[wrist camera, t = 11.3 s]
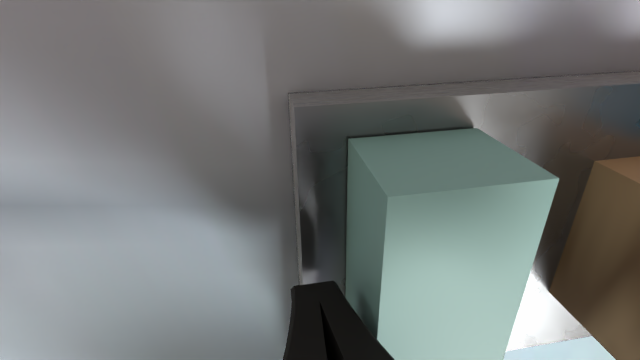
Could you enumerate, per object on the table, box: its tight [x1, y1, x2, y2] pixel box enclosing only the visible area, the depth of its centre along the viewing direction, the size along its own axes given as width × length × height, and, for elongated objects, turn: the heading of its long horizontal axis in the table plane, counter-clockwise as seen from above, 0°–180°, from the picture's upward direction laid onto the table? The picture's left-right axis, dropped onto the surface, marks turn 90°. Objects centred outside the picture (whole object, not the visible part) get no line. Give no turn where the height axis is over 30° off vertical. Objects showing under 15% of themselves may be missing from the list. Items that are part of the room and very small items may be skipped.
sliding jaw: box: [345, 128, 559, 360], centre depth 12 cm, size 10×4×3 cm, turn 1°
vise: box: [288, 71, 640, 351], centre depth 14 cm, size 12×20×5 cm, turn 91°
